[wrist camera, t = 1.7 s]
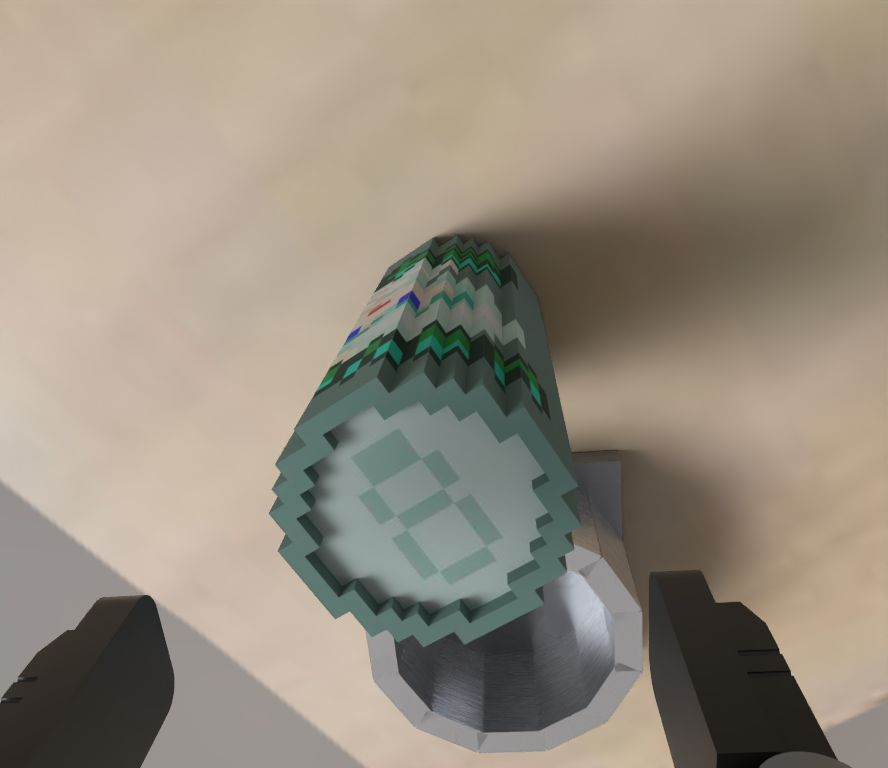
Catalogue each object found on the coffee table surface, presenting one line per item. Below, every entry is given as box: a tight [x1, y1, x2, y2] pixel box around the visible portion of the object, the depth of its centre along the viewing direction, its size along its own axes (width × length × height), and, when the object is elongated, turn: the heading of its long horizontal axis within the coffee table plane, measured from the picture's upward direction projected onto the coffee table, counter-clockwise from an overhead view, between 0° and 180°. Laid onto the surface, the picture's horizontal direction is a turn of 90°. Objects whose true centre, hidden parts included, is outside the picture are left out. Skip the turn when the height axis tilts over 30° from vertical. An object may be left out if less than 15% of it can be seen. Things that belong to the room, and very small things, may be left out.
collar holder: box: [366, 450, 643, 753], centre depth 31 cm, size 10×10×6 cm
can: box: [269, 235, 582, 648], centre depth 23 cm, size 6×6×15 cm
